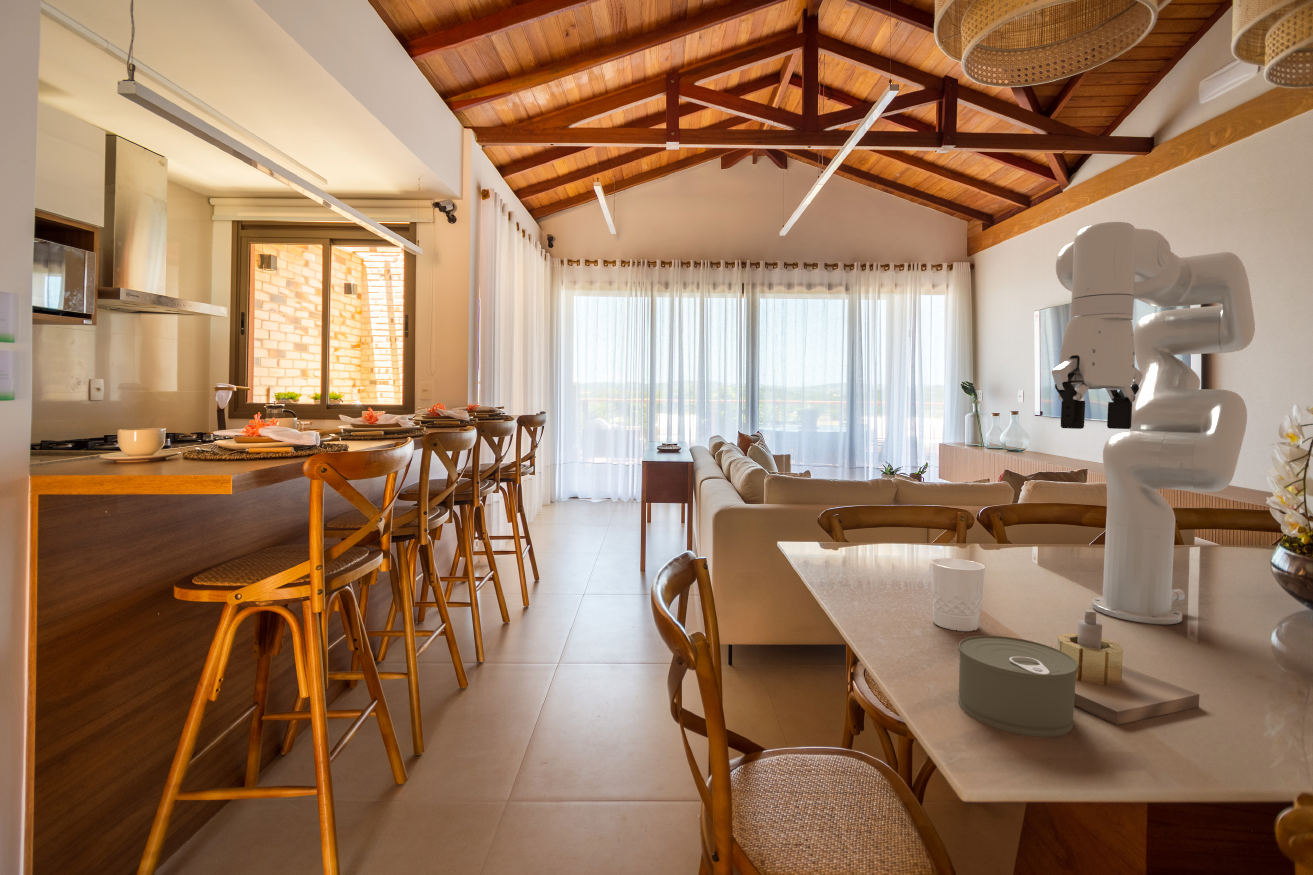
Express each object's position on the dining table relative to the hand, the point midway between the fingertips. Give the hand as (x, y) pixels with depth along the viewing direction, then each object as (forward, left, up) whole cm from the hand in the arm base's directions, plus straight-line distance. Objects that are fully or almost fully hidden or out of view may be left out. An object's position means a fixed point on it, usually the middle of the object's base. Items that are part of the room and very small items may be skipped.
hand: (1095, 428), depth 95 cm
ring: (+14, +10, -31) cm, 35 cm away
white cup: (+12, -13, -32) cm, 37 cm away
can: (+29, +13, -33) cm, 46 cm away
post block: (+14, +11, -32) cm, 37 cm away
